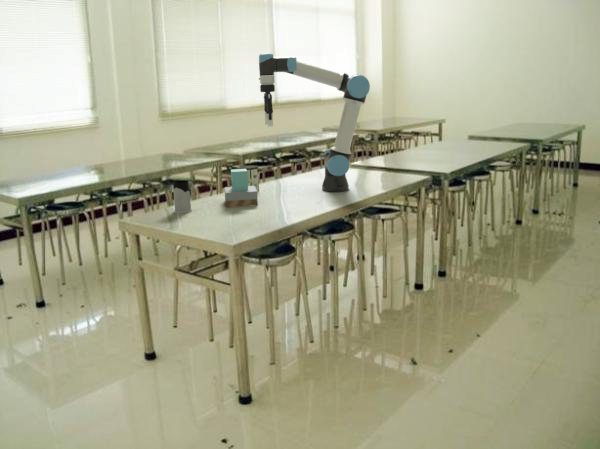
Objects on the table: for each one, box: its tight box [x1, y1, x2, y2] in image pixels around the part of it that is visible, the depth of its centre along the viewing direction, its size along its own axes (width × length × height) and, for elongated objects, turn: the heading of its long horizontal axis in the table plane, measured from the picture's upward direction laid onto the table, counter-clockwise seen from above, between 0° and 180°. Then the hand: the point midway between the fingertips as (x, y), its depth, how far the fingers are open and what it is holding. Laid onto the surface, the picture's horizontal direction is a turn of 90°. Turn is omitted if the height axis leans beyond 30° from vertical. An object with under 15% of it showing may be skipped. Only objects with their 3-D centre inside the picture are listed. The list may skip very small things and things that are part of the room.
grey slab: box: [224, 186, 258, 201], centre depth 308 cm, size 16×16×4 cm
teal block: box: [230, 168, 248, 191], centre depth 306 cm, size 8×8×10 cm
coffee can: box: [239, 164, 260, 192], centre depth 340 cm, size 10×10×14 cm
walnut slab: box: [224, 197, 259, 208], centre depth 309 cm, size 16×16×4 cm
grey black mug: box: [172, 179, 194, 214], centre depth 295 cm, size 9×14×15 cm, turn 156°
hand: (269, 125), depth 313 cm, fingers open, 13 cm apart
